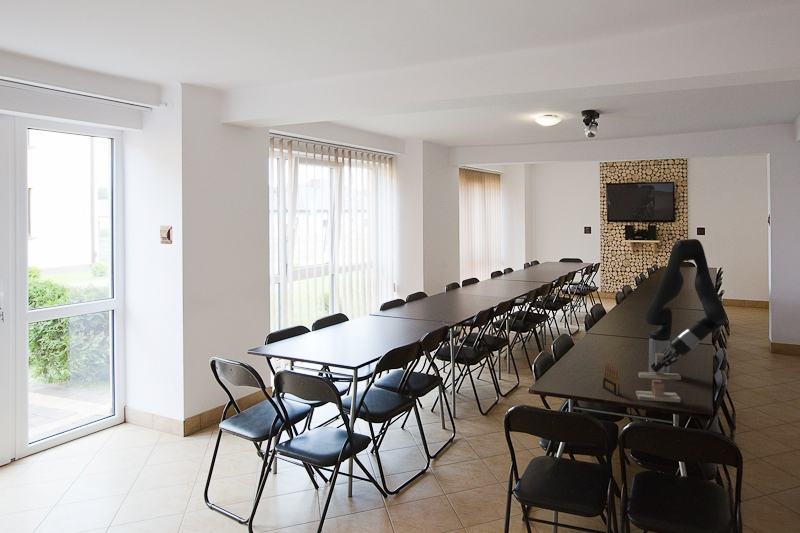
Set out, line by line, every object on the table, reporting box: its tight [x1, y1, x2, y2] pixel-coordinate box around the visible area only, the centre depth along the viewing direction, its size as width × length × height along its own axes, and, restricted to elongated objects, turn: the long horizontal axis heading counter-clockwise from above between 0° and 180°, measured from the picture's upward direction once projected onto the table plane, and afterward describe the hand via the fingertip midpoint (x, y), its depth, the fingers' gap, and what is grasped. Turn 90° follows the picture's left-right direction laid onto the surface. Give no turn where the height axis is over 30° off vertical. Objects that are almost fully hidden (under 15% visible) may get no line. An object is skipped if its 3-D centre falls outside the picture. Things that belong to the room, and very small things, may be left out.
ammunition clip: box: [602, 362, 620, 396], centre depth 244 cm, size 11×2×12 cm, turn 9°
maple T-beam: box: [637, 353, 682, 381], centre depth 233 cm, size 4×16×10 cm, turn 77°
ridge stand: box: [635, 379, 682, 403], centre depth 234 cm, size 8×16×7 cm, turn 77°
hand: (653, 369), depth 234 cm, fingers closed on maple T-beam, 3 cm apart
